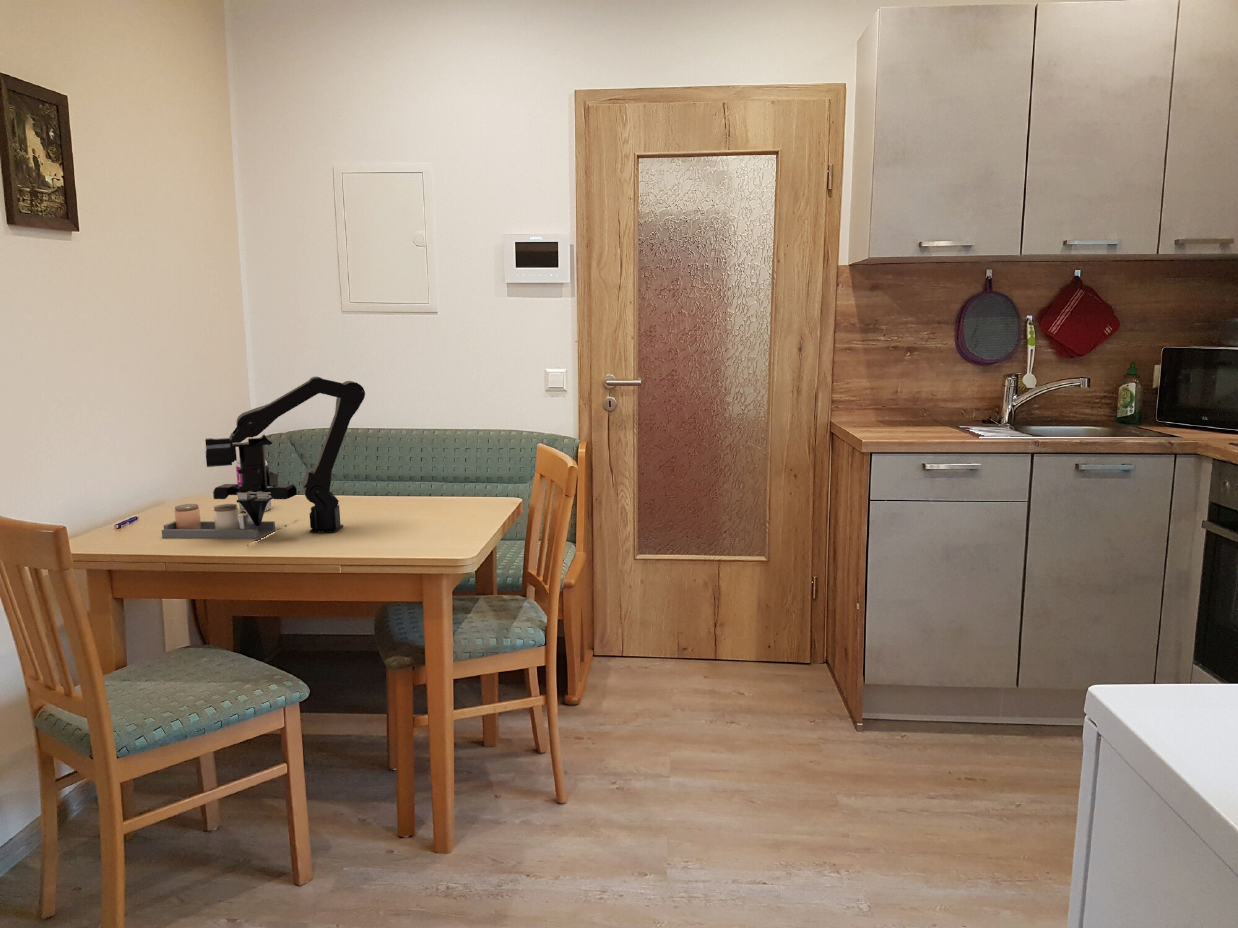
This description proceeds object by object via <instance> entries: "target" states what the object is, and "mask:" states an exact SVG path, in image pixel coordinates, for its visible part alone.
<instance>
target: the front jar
mask: <svg viewBox="0 0 1238 928" xmlns="http://www.w3.org/2000/svg"><path fill="white" fill-rule="evenodd" d="M174 517H175V520H176V529H201V521H202V520H201V513H200V507H199V504H197V503H184V504H180V505H176V506H174ZM175 520H174V521H175Z"/></svg>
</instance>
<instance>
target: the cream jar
mask: <svg viewBox="0 0 1238 928" xmlns="http://www.w3.org/2000/svg"><path fill="white" fill-rule="evenodd" d="M239 516H240V515H239V508H238V504H235V503H223V504H218V505H214V506H213V521H214V522H215V529H220V530H240V527H239Z"/></svg>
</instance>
